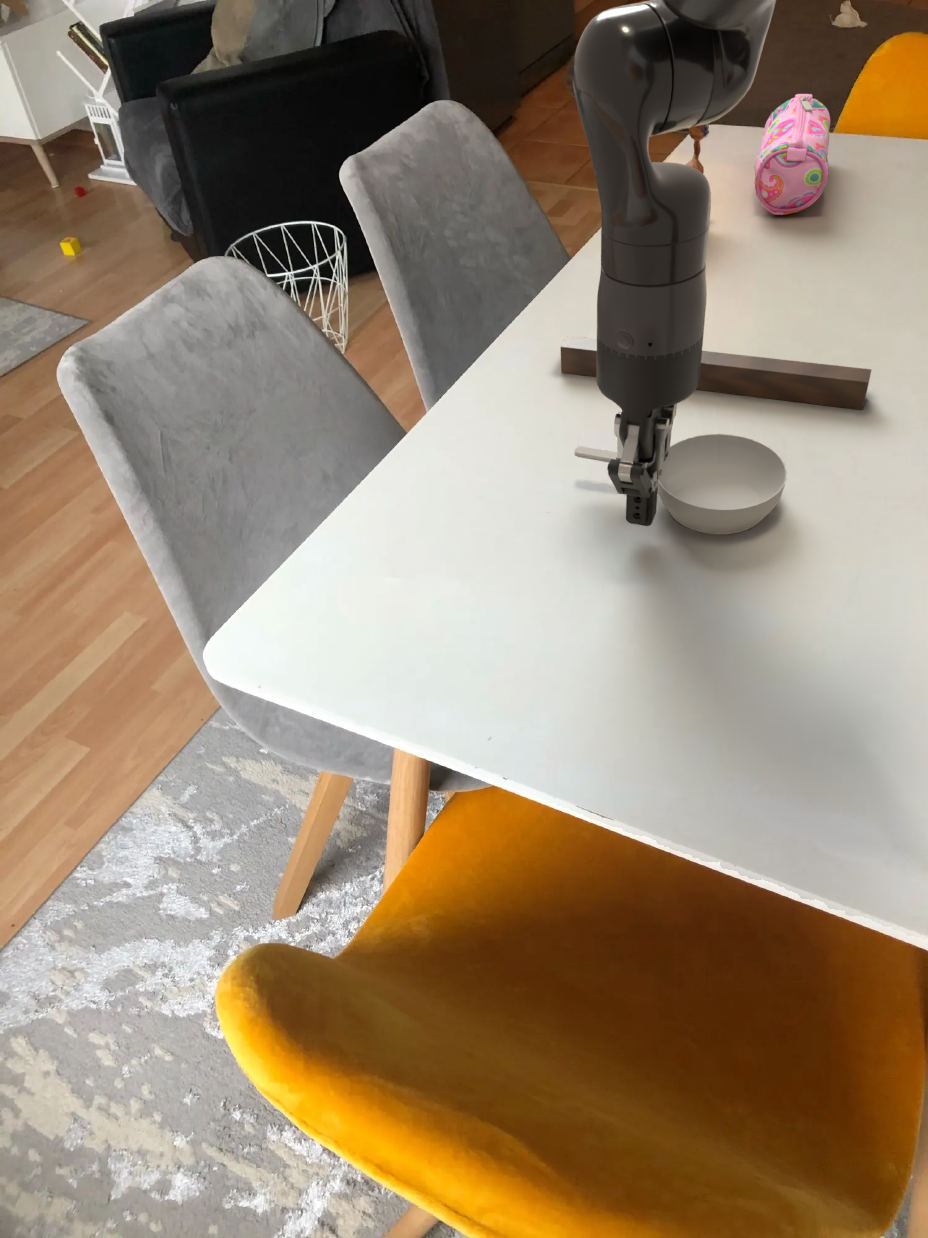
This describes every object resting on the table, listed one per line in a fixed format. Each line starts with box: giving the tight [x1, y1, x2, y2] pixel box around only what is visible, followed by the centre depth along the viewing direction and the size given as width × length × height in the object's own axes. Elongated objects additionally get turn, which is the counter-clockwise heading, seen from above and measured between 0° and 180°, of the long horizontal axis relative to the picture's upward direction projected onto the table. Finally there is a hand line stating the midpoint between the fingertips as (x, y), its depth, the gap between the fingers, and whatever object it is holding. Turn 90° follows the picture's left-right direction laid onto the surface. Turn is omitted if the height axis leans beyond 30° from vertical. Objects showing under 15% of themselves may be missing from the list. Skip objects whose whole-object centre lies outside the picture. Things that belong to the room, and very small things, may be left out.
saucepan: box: [573, 433, 788, 535], centre depth 83 cm, size 11×18×4 cm, turn 70°
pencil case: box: [754, 93, 831, 216], centre depth 126 cm, size 21×9×9 cm, turn 163°
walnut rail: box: [560, 335, 872, 411], centre depth 96 cm, size 30×2×3 cm, turn 68°
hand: (640, 519), depth 80 cm, fingers closed
